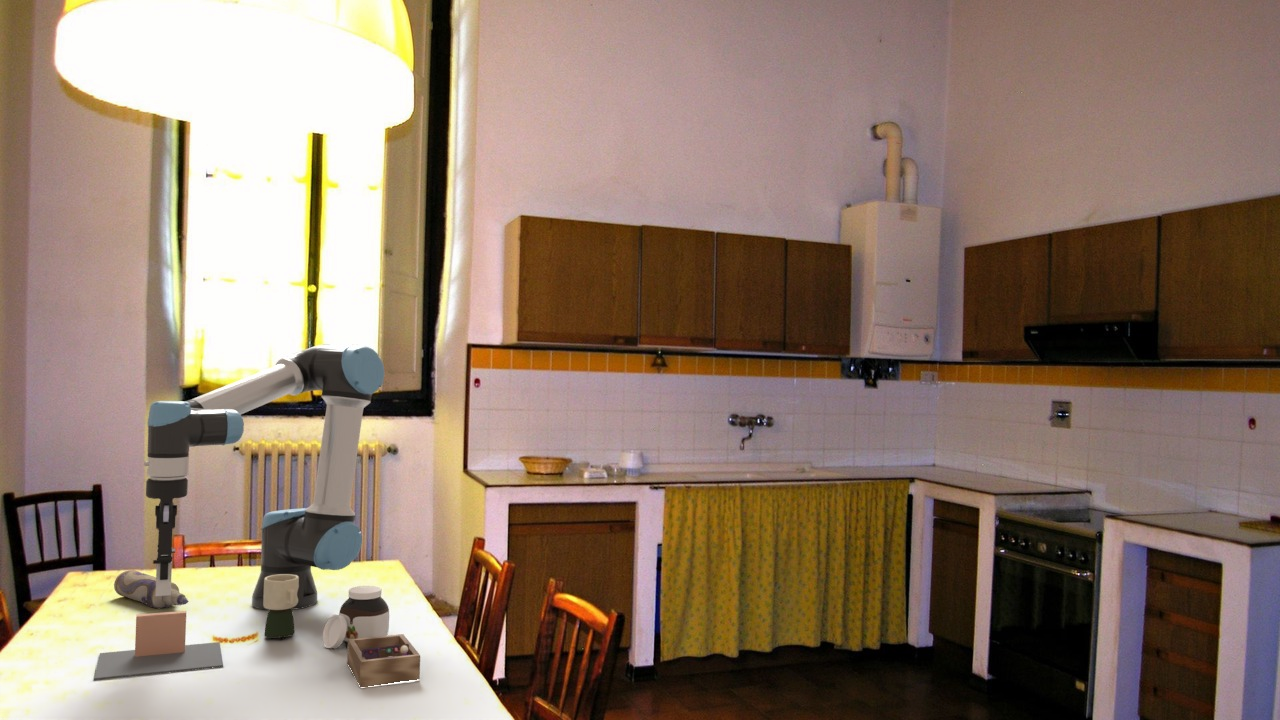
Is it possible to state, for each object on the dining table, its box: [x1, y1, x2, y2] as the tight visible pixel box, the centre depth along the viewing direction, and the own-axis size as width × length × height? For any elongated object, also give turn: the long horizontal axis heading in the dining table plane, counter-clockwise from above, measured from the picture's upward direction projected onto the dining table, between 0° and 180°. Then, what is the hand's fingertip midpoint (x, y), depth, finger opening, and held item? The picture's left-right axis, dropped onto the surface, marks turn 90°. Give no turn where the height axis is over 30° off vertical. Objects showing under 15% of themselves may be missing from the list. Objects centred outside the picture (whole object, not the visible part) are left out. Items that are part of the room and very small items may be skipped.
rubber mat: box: [93, 641, 224, 681], centre depth 187 cm, size 22×16×1 cm
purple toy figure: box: [362, 644, 409, 660], centre depth 181 cm, size 7×5×9 cm
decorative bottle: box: [113, 569, 189, 609], centre depth 227 cm, size 26×8×7 cm, turn 56°
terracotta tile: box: [134, 610, 187, 657], centre depth 190 cm, size 9×2×8 cm, turn 116°
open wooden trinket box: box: [346, 633, 421, 688], centre depth 184 cm, size 11×15×5 cm
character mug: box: [263, 574, 299, 639], centre depth 205 cm, size 11×7×13 cm, turn 49°
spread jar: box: [322, 585, 390, 650], centre depth 201 cm, size 12×11×12 cm
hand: (163, 590), depth 190 cm, fingers open, 7 cm apart
